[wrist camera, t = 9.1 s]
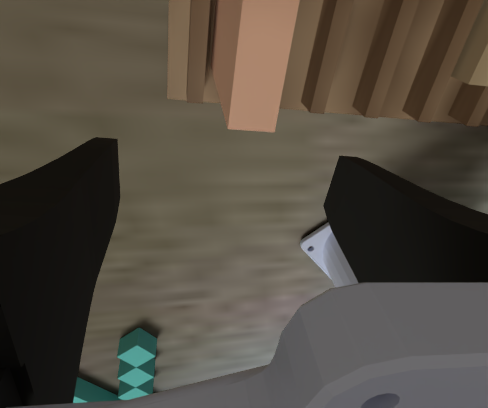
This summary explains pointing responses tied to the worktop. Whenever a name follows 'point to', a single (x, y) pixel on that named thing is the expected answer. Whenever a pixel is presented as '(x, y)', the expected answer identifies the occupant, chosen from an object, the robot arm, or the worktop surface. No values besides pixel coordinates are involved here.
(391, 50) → the rack
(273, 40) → the salmon rectangular slab
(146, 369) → the teal pixel toy sword
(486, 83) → the offcut
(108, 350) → the worktop surface
